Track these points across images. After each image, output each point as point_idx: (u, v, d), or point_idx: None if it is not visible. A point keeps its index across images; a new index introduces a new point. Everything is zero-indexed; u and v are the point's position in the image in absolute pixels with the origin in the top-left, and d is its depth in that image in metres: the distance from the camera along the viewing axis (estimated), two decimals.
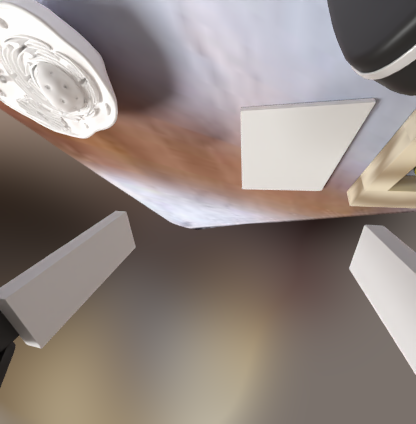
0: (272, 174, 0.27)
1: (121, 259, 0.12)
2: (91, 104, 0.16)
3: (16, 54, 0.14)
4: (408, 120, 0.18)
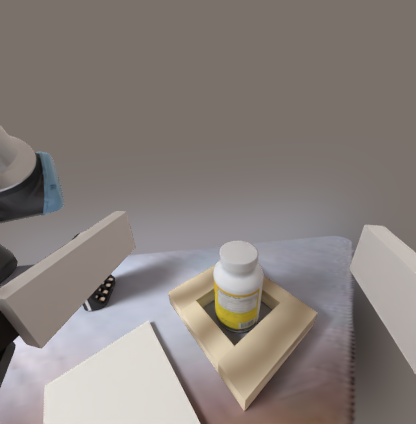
0: None
1: (121, 259, 0.12)
2: None
3: None
4: (180, 317, 0.28)
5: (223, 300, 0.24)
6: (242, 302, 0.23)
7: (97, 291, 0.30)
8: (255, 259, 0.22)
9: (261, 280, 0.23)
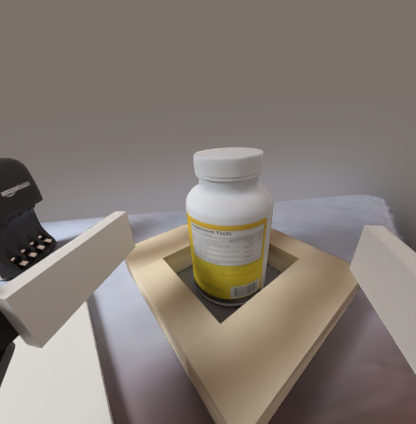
0: None
1: (121, 259, 0.12)
2: None
3: None
4: None
5: (201, 245, 0.13)
6: (235, 242, 0.12)
7: (15, 251, 0.20)
8: (259, 156, 0.11)
9: (270, 204, 0.12)
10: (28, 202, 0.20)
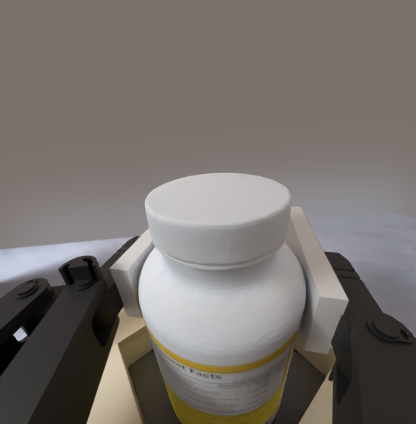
0: None
1: None
2: None
3: None
4: None
5: (165, 370, 0.07)
6: (231, 388, 0.06)
7: None
8: (285, 209, 0.05)
9: (303, 298, 0.06)
10: None
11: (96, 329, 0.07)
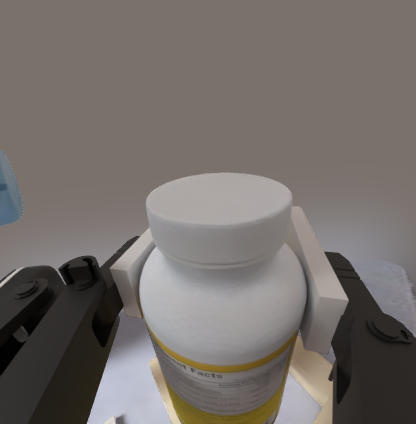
0: None
1: None
2: None
3: None
4: (166, 408, 0.17)
5: (166, 369, 0.07)
6: (232, 388, 0.06)
7: None
8: (286, 209, 0.05)
9: (304, 298, 0.06)
10: None
11: (96, 329, 0.07)
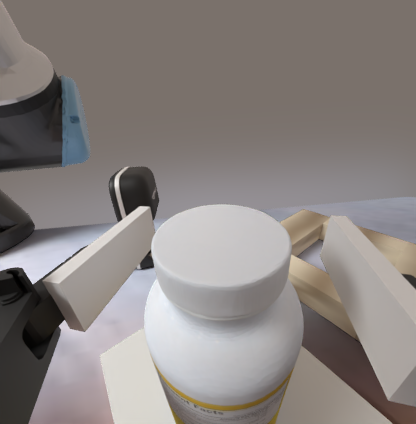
0: None
1: (146, 252, 0.12)
2: None
3: None
4: None
5: (169, 398, 0.07)
6: (232, 421, 0.06)
7: None
8: (285, 262, 0.05)
9: (301, 336, 0.06)
10: (157, 203, 0.23)
11: (31, 344, 0.07)
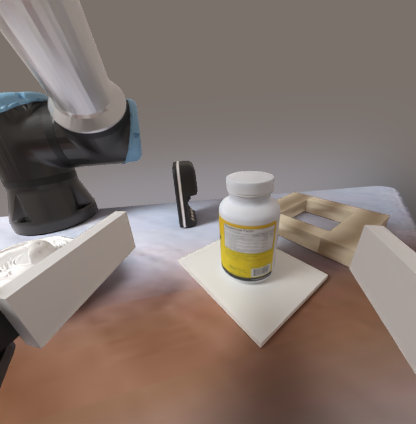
0: (258, 288, 0.21)
1: (121, 259, 0.12)
2: None
3: (19, 254, 0.22)
4: None
5: (231, 239, 0.19)
6: (256, 237, 0.18)
7: (188, 212, 0.35)
8: (271, 180, 0.17)
9: (278, 211, 0.19)
10: None
11: None
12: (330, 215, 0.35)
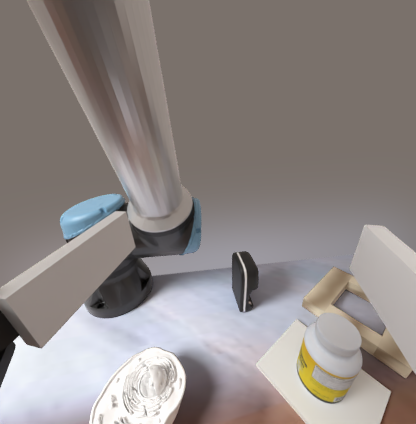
0: (337, 408, 0.25)
1: (121, 259, 0.12)
2: (169, 384, 0.25)
3: (135, 376, 0.26)
4: (318, 316, 0.37)
5: (322, 378, 0.24)
6: (345, 382, 0.23)
7: None
8: (361, 342, 0.22)
9: None
10: None
11: None
12: None
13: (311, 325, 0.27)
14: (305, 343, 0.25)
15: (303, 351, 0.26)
